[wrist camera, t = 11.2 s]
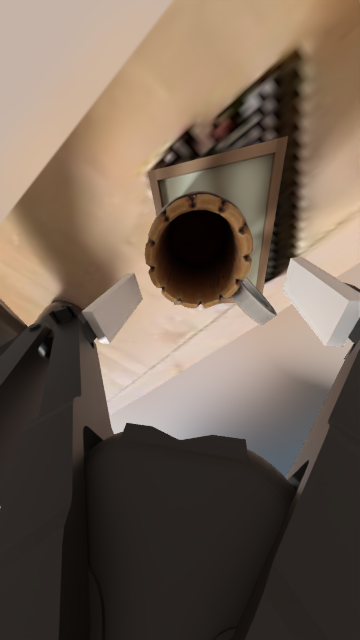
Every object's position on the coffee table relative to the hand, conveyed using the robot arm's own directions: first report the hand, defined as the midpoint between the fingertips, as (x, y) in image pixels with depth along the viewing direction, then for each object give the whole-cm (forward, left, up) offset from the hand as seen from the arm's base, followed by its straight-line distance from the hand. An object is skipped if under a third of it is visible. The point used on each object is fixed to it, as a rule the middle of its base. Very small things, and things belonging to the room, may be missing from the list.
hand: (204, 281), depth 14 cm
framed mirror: (0, 0, -18) cm, 18 cm away
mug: (0, 0, -14) cm, 14 cm away
